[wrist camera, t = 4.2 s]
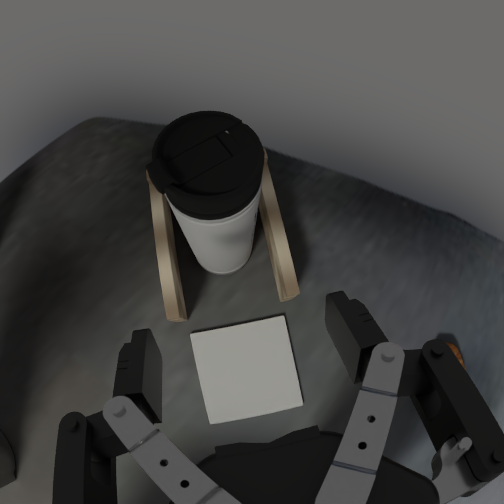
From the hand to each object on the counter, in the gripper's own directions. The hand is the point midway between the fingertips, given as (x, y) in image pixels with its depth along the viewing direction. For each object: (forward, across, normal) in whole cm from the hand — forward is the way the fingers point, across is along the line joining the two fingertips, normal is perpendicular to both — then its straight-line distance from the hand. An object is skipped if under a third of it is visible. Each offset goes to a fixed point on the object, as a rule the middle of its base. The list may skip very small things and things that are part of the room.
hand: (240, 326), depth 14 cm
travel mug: (+21, 0, +8) cm, 22 cm away
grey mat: (+11, 0, +17) cm, 20 cm away
